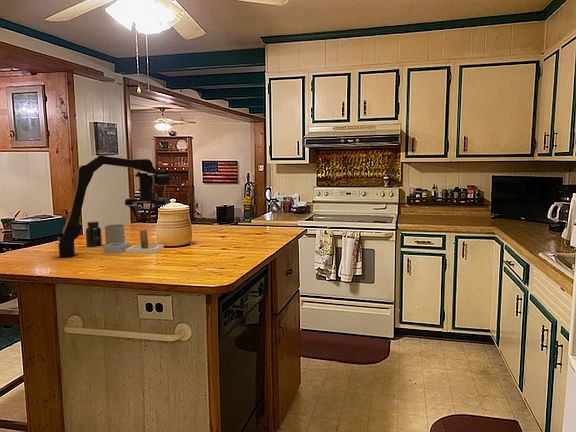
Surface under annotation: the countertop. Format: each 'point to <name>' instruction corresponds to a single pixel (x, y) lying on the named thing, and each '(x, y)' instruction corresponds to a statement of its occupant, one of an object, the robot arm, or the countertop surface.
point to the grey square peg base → (115, 247)
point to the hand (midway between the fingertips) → (148, 220)
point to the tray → (151, 249)
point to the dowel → (144, 239)
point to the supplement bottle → (93, 234)
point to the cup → (114, 234)
